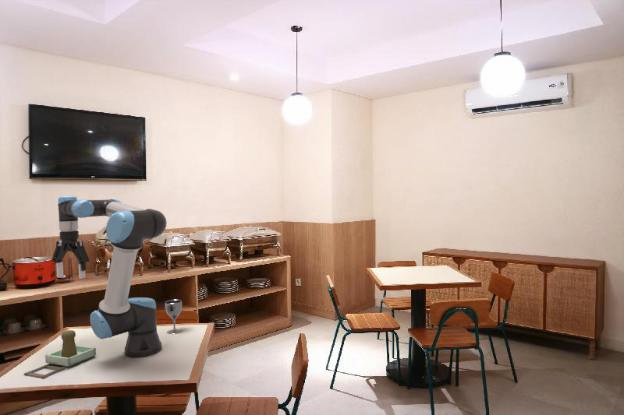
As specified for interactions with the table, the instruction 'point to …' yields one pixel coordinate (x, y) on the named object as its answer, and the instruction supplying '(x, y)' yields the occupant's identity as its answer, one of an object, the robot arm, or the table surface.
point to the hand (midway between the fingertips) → (71, 277)
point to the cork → (68, 344)
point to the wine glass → (173, 312)
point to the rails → (48, 366)
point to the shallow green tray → (81, 355)
